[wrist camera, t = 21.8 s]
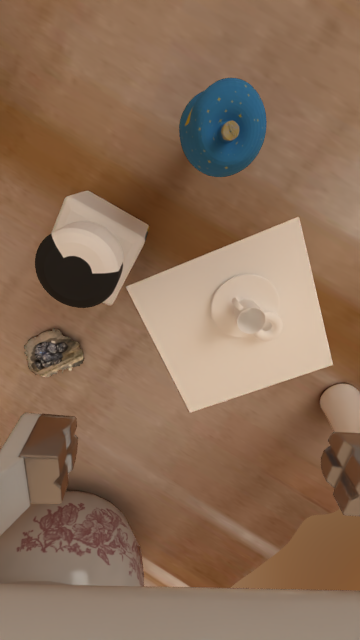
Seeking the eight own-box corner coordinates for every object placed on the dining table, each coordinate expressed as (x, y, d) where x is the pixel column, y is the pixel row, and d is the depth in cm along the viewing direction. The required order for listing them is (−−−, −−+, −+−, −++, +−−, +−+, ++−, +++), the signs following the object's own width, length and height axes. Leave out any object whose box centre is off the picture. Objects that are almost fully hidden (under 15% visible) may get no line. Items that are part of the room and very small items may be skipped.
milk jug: (162, 560, 60) (159, 740, 41) (15, 569, 59) (-56, 754, 41) (150, 453, 47) (137, 639, 29) (-36, 463, 47) (-170, 658, 28)
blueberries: (94, 348, 39) (91, 357, 38) (59, 388, 42) (54, 398, 40) (46, 316, 37) (40, 323, 35) (12, 360, 40) (5, 369, 38)
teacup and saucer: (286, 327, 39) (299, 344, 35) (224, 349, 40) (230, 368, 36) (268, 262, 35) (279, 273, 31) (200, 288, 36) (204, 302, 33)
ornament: (214, 97, 28) (255, 35, 15) (240, 152, 30) (298, 142, 17) (165, 133, 30) (163, 105, 16) (194, 184, 31) (214, 198, 18)
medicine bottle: (121, 282, 36) (100, 333, 25) (60, 251, 34) (9, 291, 23) (150, 225, 33) (142, 254, 22) (86, 188, 31) (43, 200, 21)
